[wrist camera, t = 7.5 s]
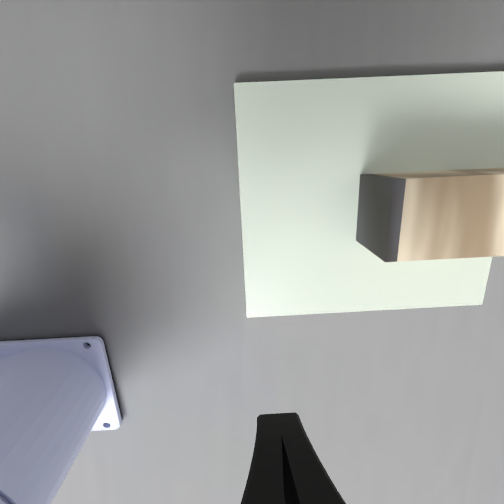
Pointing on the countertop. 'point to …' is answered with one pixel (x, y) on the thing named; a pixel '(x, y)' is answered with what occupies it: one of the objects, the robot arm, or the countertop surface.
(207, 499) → the countertop surface
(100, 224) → the countertop surface
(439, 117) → the sage board
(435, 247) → the birch block
